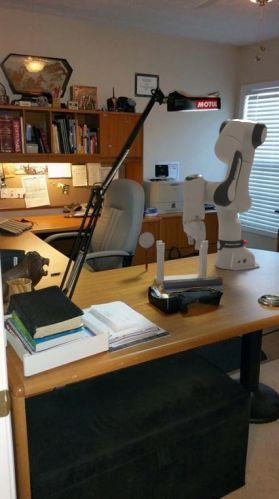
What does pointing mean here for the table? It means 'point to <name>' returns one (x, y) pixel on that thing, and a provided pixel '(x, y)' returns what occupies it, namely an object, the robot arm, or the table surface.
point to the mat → (188, 288)
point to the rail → (192, 283)
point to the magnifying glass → (146, 244)
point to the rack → (161, 277)
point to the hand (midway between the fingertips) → (194, 246)
